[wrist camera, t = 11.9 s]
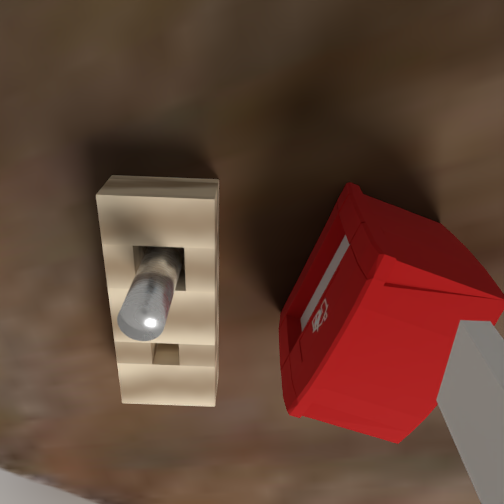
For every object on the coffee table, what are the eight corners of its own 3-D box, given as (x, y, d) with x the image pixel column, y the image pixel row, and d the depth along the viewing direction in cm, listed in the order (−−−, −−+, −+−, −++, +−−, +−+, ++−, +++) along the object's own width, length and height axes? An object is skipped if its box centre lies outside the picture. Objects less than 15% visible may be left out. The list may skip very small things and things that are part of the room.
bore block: (111, 174, 45) (95, 194, 40) (219, 179, 45) (214, 199, 40) (133, 370, 56) (122, 403, 51) (218, 374, 56) (214, 406, 52)
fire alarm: (343, 179, 44) (378, 257, 31) (443, 218, 46) (516, 307, 33) (276, 312, 52) (281, 420, 39) (365, 341, 53) (400, 455, 40)
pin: (147, 231, 46) (114, 301, 35) (185, 232, 46) (163, 303, 35) (150, 263, 48) (119, 340, 37) (186, 265, 48) (165, 342, 37)
